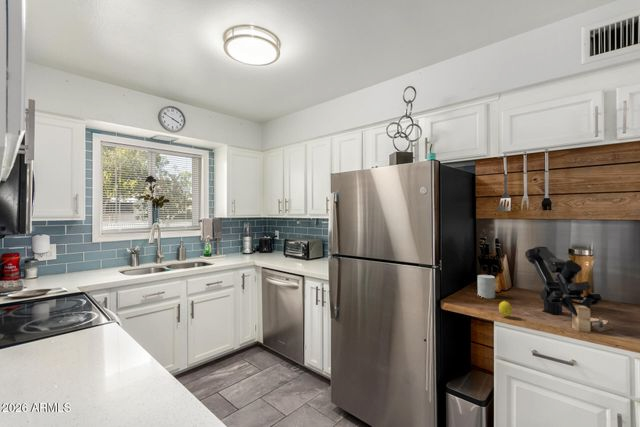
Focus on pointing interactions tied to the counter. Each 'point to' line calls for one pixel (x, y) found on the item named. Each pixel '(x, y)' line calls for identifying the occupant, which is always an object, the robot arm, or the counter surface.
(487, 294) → the white cylinder
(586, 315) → the oak block
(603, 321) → the pad
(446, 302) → the counter surface
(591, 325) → the wire stand
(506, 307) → the lemon
